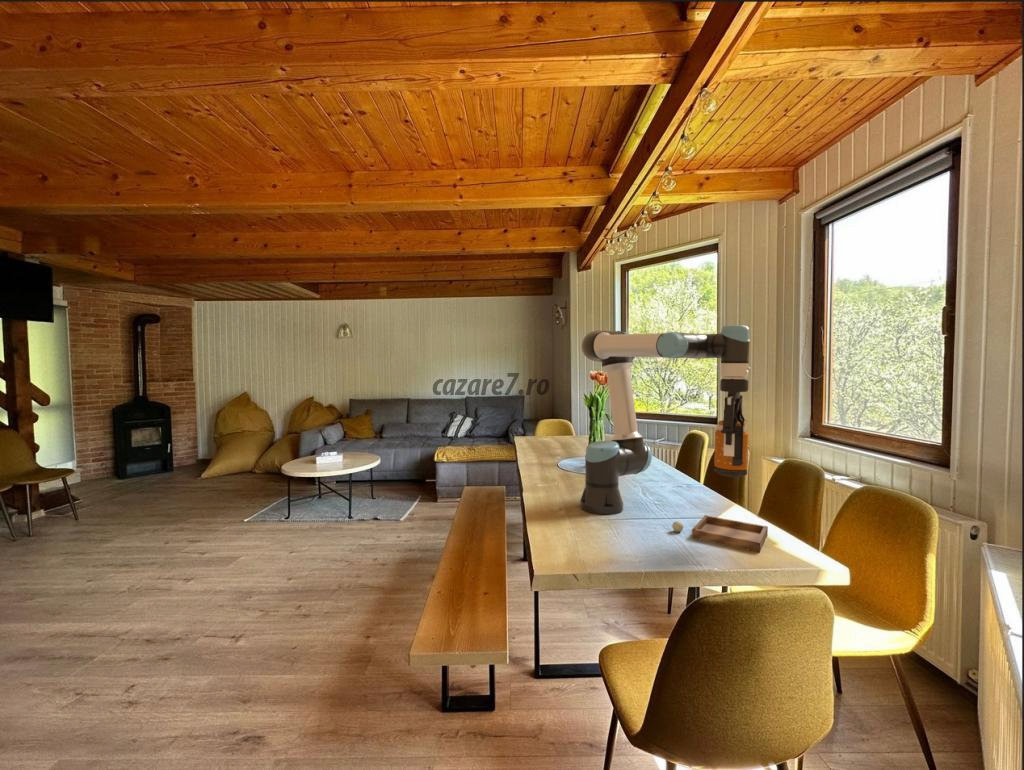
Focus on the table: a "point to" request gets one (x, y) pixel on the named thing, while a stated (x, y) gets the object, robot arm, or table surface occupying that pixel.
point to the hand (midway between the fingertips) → (732, 452)
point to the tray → (731, 533)
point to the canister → (740, 460)
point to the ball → (677, 526)
